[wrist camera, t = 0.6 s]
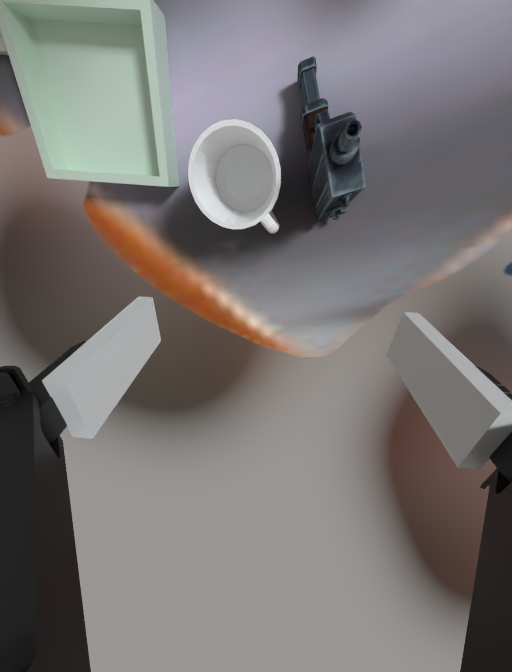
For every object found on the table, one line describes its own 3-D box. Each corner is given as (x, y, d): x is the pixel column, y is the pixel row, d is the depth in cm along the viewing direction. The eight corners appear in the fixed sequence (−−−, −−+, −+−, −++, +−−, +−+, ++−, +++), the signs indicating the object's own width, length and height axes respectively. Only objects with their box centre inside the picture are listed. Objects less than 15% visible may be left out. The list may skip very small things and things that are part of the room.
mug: (196, 175, 33) (168, 173, 24) (247, 117, 30) (236, 90, 21) (252, 243, 37) (245, 262, 28) (302, 198, 34) (312, 203, 25)
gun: (343, -112, 14) (381, 184, 18) (315, 87, 30) (338, 220, 33) (295, -85, 14) (342, 197, 18) (293, 96, 30) (318, 226, 34)
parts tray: (21, 8, 26) (-14, -16, 23) (164, 16, 26) (149, -7, 23) (68, 178, 34) (47, 178, 31) (179, 186, 34) (169, 186, 31)
